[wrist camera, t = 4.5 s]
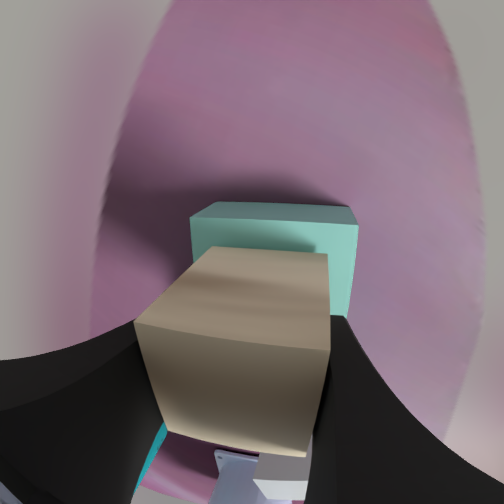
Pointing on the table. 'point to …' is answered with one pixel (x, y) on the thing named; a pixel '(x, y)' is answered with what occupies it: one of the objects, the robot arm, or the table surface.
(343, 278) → the teal block
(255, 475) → the grey block
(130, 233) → the table surface
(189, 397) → the birch block
